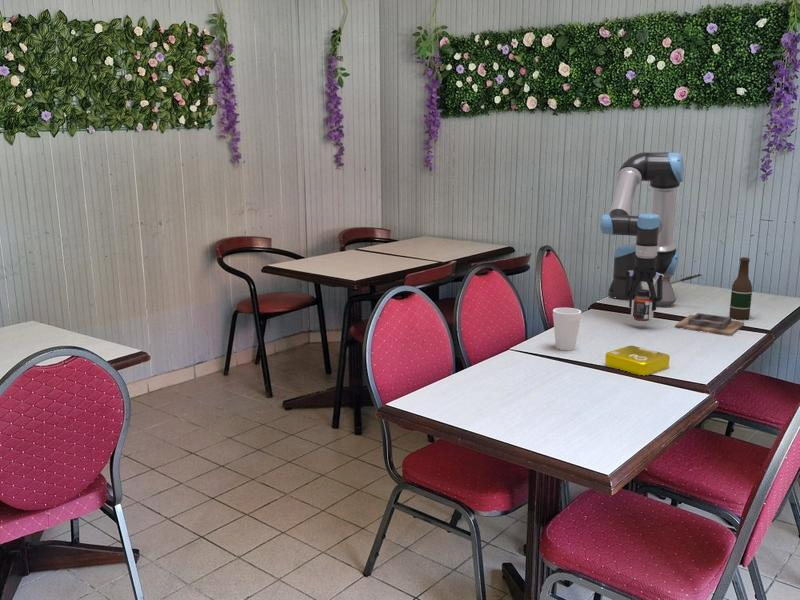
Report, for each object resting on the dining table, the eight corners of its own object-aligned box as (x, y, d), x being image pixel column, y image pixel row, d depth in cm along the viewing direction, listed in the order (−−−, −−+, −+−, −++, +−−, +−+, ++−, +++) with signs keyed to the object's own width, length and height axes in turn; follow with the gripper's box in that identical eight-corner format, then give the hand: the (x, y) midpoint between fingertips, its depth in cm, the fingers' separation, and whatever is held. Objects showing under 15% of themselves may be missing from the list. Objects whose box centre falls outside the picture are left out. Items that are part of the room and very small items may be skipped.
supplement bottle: (651, 322, 277) (653, 292, 275) (634, 321, 278) (636, 291, 276) (649, 318, 283) (651, 288, 280) (632, 317, 284) (634, 288, 282)
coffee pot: (643, 305, 317) (645, 270, 314) (652, 300, 326) (654, 266, 323) (695, 312, 305) (698, 276, 301) (703, 307, 314) (706, 272, 310)
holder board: (674, 327, 282) (675, 319, 281) (689, 317, 297) (690, 309, 297) (731, 336, 270) (732, 327, 269) (744, 324, 286) (744, 317, 285)
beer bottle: (753, 320, 292) (759, 259, 287) (733, 320, 292) (739, 259, 287) (744, 315, 300) (750, 256, 294) (725, 315, 300) (730, 256, 295)
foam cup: (579, 352, 250) (581, 314, 247) (551, 351, 252) (552, 313, 249) (578, 344, 259) (580, 308, 256) (551, 343, 261) (553, 307, 258)
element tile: (671, 368, 235) (672, 353, 234) (643, 378, 226) (645, 362, 225) (630, 357, 246) (631, 343, 245) (602, 366, 237) (603, 351, 236)
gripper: (617, 255, 278) (613, 315, 283) (669, 260, 267) (664, 323, 272) (624, 252, 283) (620, 311, 289) (675, 257, 273) (670, 319, 278)
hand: (641, 317), depth 281 cm, fingers closed on supplement bottle, 6 cm apart
